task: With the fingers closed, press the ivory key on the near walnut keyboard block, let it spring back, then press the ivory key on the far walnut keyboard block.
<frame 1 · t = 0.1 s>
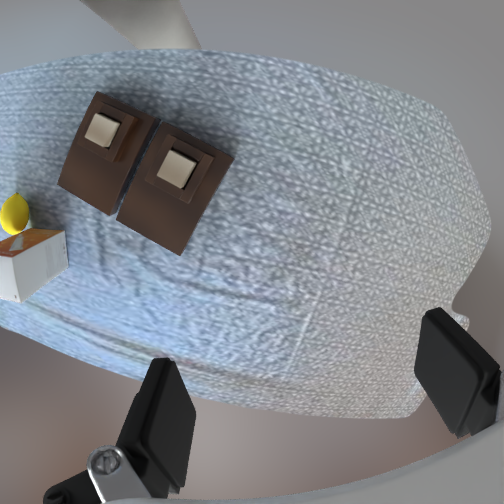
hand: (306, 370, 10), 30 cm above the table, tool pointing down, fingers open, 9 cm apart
key c: (102, 130, 30), point 4 cm above the table, slide at 0.1 cm
small box: (49, 246, 39), on the table
lemon: (25, 210, 37), on the table
keys high: (174, 187, 37), on the table
keys low: (107, 152, 35), on the table
key e: (176, 168, 32), point 4 cm above the table, slide at 0.1 cm
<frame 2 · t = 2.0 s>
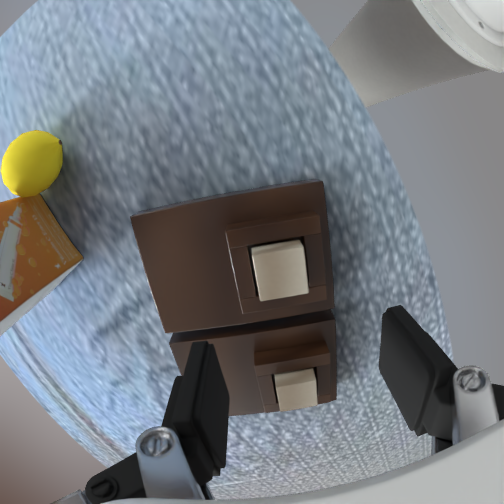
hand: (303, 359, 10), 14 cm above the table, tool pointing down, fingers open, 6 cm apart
key c: (280, 270, 19), point 4 cm above the table, slide at 0.1 cm
small box: (45, 242, 23), on the table
lemon: (51, 160, 21), on the table
keys high: (259, 363, 27), on the table
keys low: (237, 255, 24), on the table
key e: (296, 389, 23), point 4 cm above the table, slide at 0.1 cm
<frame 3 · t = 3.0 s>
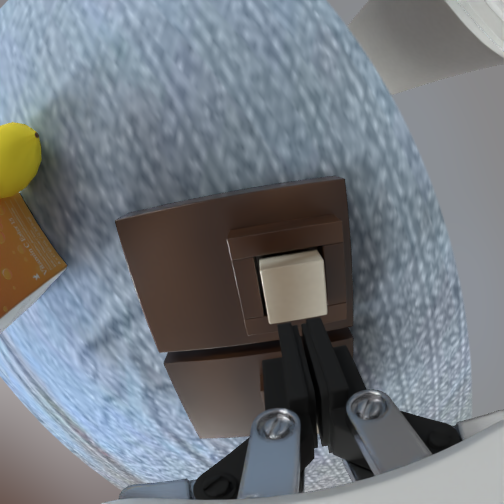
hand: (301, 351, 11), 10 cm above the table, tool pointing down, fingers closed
key c: (293, 286, 16), point 4 cm above the table, slide at 0.1 cm
small box: (27, 247, 20), on the table
lemon: (31, 156, 17), on the table
keys high: (265, 382, 24), on the table
keys low: (241, 265, 20), on the table
key e: (307, 415, 19), point 4 cm above the table, slide at 0.1 cm
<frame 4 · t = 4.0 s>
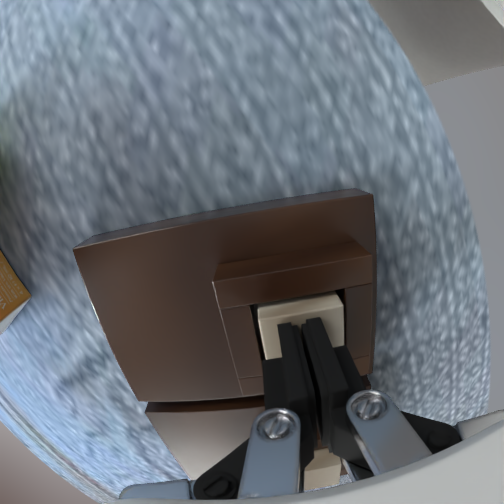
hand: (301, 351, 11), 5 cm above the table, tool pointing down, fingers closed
key c: (301, 334, 12), point 4 cm above the table, slide at -0.5 cm, touching gripper
keys high: (264, 427, 19), on the table
keys low: (234, 302, 16), on the table
key e: (313, 469, 15), point 4 cm above the table, slide at 0.1 cm
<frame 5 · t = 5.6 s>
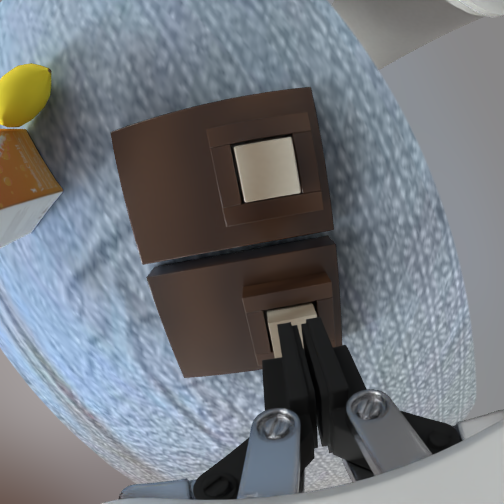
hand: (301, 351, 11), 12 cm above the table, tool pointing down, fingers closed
key c: (267, 168, 17), point 4 cm above the table, slide at 0.1 cm
small box: (28, 180, 21), on the table
lemon: (40, 97, 18), on the table
keys high: (250, 307, 24), on the table
keys low: (222, 174, 21), on the table
key e: (293, 331, 20), point 4 cm above the table, slide at 0.1 cm
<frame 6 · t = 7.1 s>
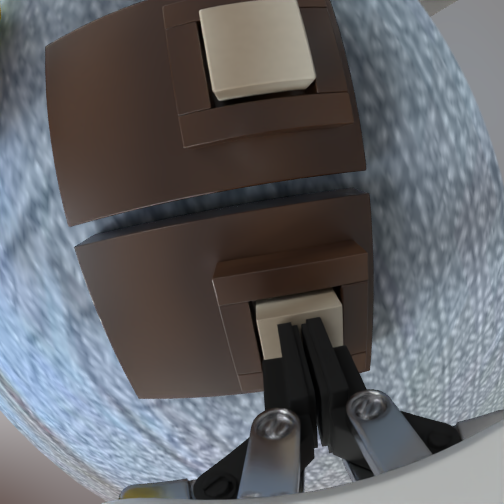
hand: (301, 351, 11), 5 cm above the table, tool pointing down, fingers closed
key c: (255, 47, 8), point 4 cm above the table, slide at 0.1 cm
keys high: (233, 300, 16), on the table
keys low: (192, 91, 12), on the table
key e: (300, 335, 12), point 4 cm above the table, slide at -0.2 cm, touching gripper
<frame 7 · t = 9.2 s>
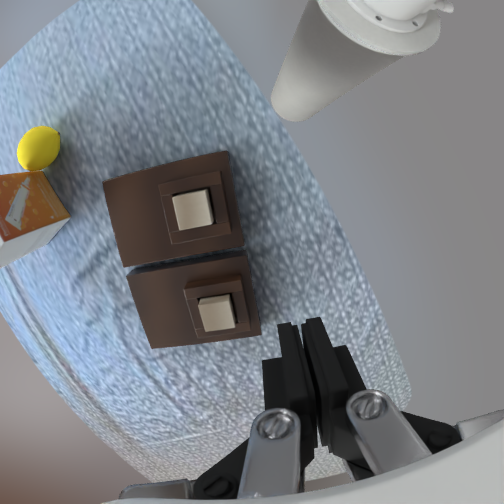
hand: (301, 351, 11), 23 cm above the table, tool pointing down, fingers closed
key c: (193, 209, 27), point 4 cm above the table, slide at 0.1 cm
small box: (44, 207, 31), on the table
lemon: (51, 148, 29), on the table
keys high: (196, 299, 35), on the table
keys low: (174, 208, 32), on the table
key e: (217, 312, 31), point 4 cm above the table, slide at 0.1 cm
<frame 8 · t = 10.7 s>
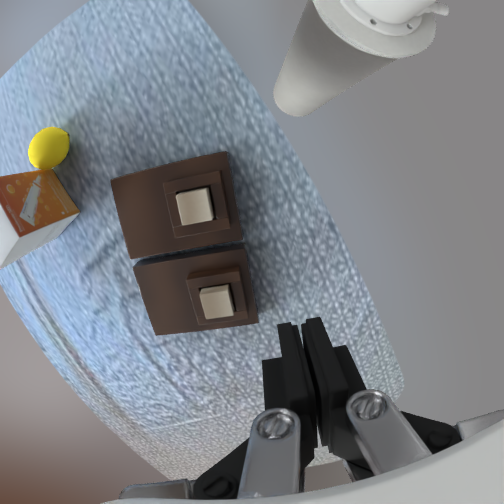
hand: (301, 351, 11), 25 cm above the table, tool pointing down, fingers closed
key c: (195, 206, 30), point 4 cm above the table, slide at 0.1 cm
small box: (54, 203, 34), on the table
lemon: (61, 147, 31), on the table
keys high: (198, 288, 38), on the table
keys low: (177, 204, 34), on the table
key e: (217, 301, 33), point 4 cm above the table, slide at 0.1 cm
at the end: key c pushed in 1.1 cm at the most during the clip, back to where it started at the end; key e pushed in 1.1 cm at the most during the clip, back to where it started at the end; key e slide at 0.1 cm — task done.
